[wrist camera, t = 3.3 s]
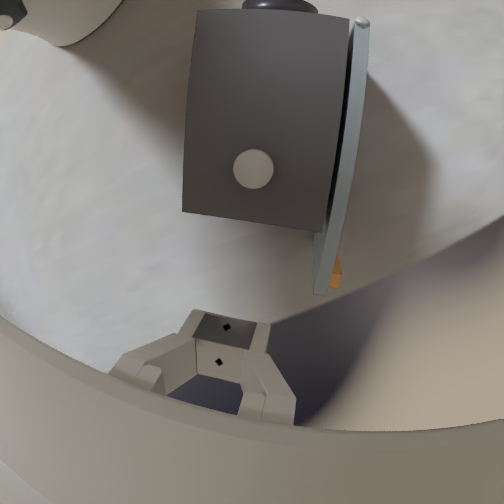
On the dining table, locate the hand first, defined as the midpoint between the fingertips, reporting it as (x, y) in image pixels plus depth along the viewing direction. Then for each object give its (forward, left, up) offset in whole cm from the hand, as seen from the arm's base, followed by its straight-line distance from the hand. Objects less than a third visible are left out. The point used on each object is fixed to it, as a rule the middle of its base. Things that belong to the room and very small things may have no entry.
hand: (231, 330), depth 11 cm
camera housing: (-8, -1, -15) cm, 17 cm away
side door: (-6, +4, -14) cm, 16 cm away
